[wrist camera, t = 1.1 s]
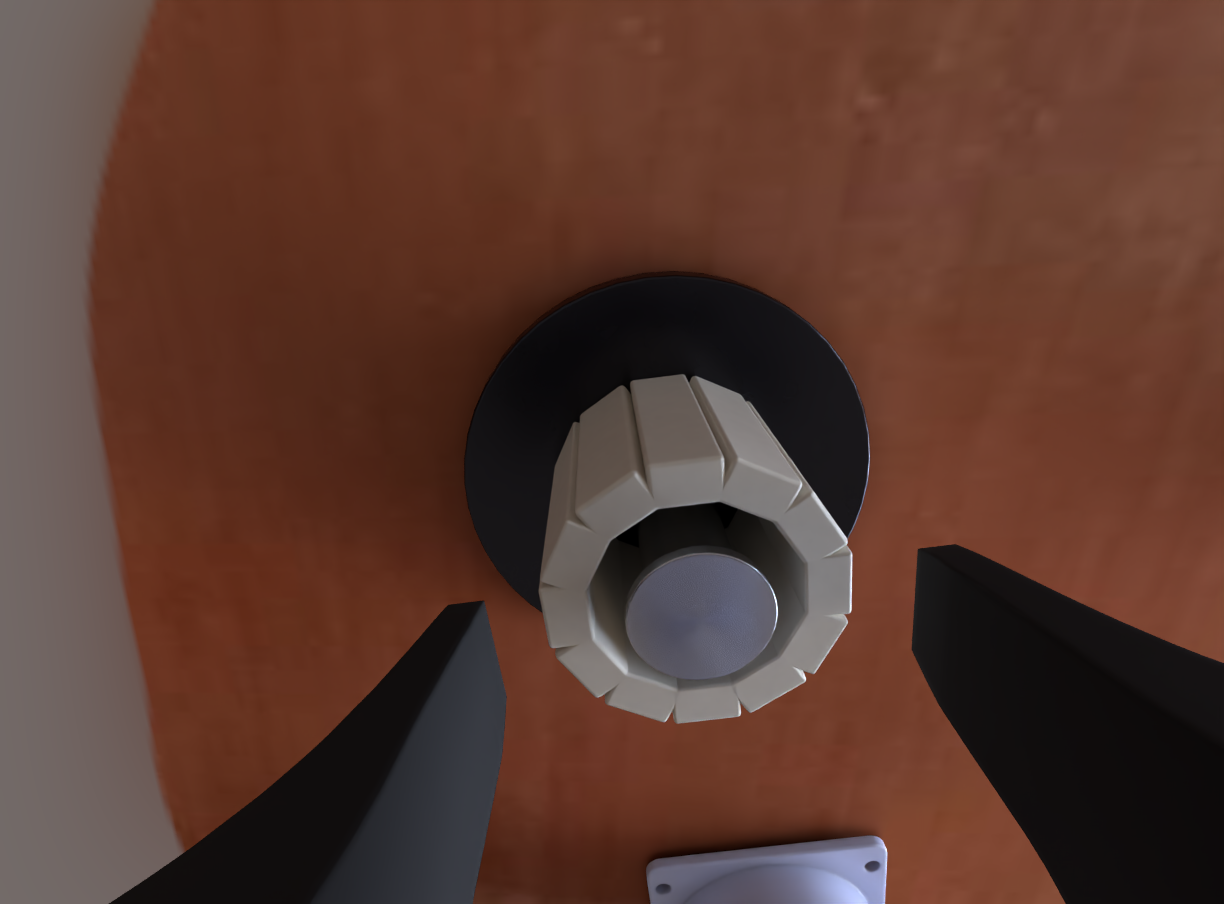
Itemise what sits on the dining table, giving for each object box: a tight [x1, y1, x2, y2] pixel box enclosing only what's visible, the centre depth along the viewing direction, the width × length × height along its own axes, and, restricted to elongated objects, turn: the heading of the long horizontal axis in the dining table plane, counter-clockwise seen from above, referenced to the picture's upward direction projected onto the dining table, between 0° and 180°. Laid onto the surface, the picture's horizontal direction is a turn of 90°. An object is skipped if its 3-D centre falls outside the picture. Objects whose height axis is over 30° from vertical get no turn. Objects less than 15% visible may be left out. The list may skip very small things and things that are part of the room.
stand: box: [464, 271, 870, 680], centre depth 14 cm, size 10×10×6 cm
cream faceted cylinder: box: [539, 374, 852, 723], centre depth 14 cm, size 6×6×5 cm
